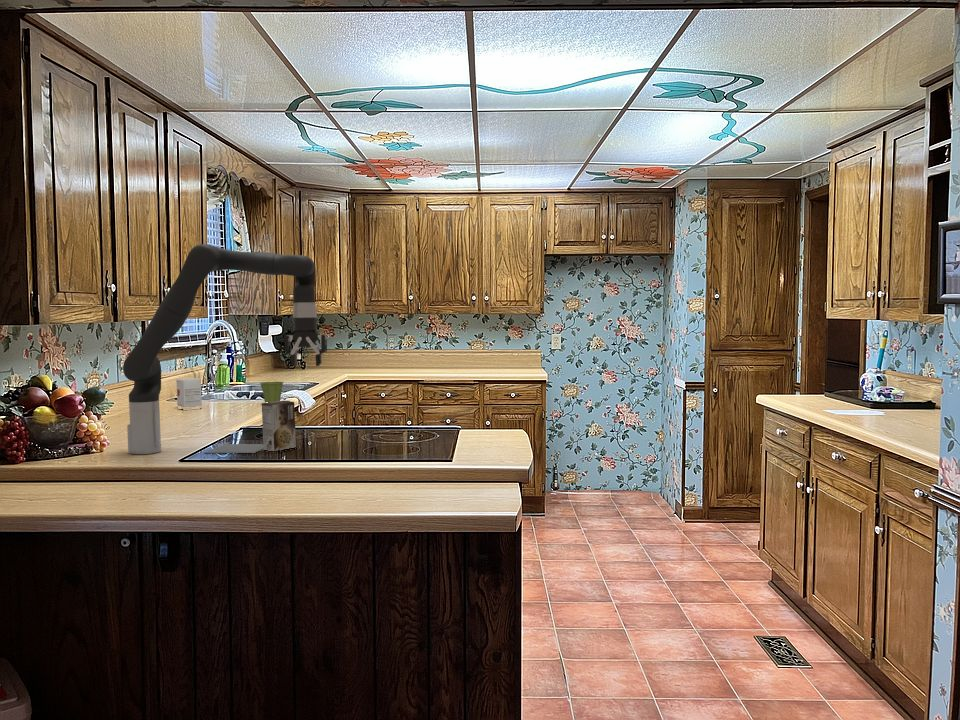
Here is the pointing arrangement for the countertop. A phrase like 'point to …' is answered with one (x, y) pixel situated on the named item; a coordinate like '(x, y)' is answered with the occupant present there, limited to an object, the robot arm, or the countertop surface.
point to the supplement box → (189, 392)
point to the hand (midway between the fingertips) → (306, 365)
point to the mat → (237, 448)
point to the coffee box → (278, 425)
